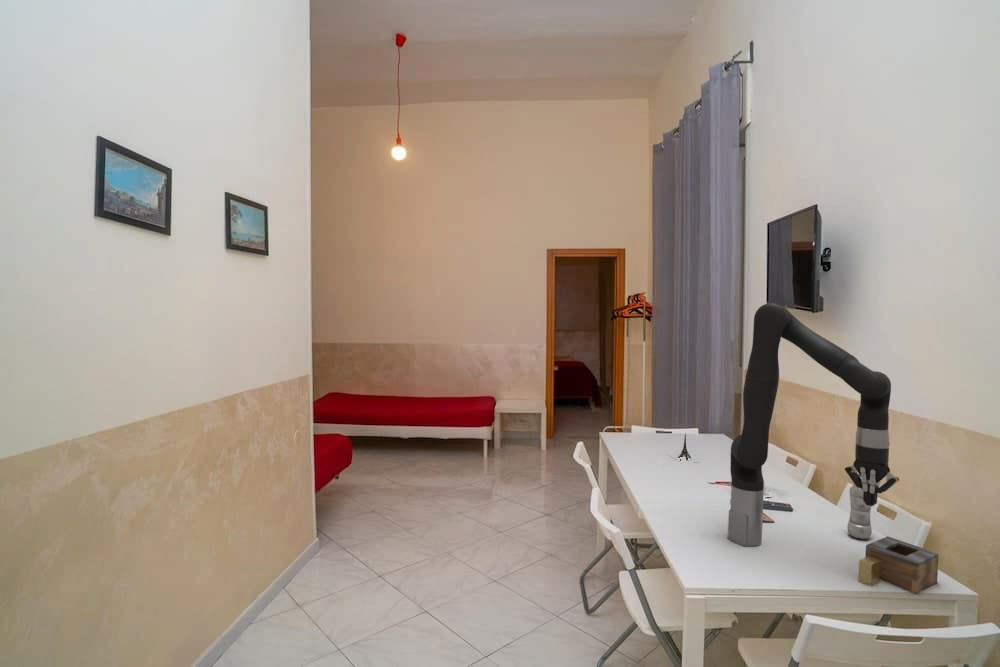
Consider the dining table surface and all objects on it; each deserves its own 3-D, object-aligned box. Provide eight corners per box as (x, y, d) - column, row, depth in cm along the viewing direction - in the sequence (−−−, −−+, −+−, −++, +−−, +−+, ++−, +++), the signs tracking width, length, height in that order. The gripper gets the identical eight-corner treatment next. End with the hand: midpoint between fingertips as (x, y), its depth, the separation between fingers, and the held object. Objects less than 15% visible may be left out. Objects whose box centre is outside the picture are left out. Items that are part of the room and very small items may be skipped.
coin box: (915, 594, 133) (917, 563, 133) (864, 573, 143) (865, 545, 143) (937, 582, 139) (938, 553, 138) (886, 563, 149) (887, 536, 149)
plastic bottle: (842, 535, 168) (845, 475, 167) (853, 531, 171) (856, 472, 170) (864, 543, 162) (867, 480, 161) (875, 539, 165) (878, 477, 164)
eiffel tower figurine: (667, 455, 261) (668, 429, 261) (686, 454, 262) (687, 429, 261) (680, 463, 246) (681, 436, 246) (700, 463, 247) (701, 436, 246)
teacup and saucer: (745, 494, 205) (745, 484, 205) (752, 490, 211) (752, 480, 211) (769, 500, 199) (769, 490, 199) (775, 495, 205) (776, 485, 204)
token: (870, 586, 136) (871, 564, 136) (858, 581, 139) (859, 559, 139) (880, 582, 139) (881, 560, 138) (867, 577, 141) (868, 555, 141)
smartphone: (754, 505, 192) (776, 521, 177) (754, 507, 192) (775, 524, 177) (734, 504, 192) (754, 521, 177) (734, 506, 192) (754, 523, 177)
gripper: (839, 440, 146) (837, 500, 147) (893, 451, 135) (891, 516, 136) (852, 437, 150) (850, 495, 151) (906, 447, 139) (904, 510, 140)
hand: (870, 505), depth 143 cm, fingers closed
